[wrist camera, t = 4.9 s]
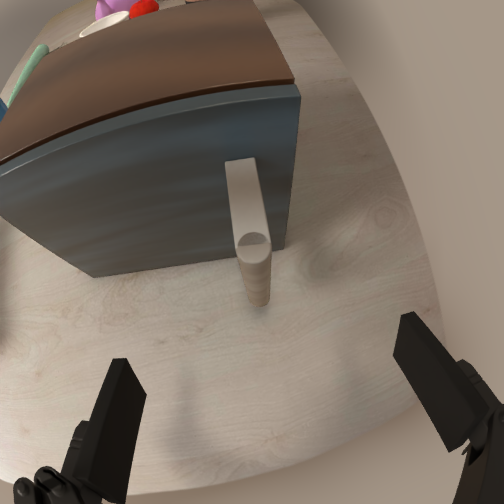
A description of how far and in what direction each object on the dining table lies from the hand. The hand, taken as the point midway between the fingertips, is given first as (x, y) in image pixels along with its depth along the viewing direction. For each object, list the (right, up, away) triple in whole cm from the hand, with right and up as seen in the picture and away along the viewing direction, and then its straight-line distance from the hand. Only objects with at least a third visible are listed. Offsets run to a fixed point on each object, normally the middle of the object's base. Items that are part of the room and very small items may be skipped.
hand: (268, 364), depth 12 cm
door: (-7, +2, +14) cm, 16 cm away
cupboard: (-9, +12, +18) cm, 23 cm away
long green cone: (-64, +54, +38) cm, 92 cm away
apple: (-28, +65, +40) cm, 81 cm away
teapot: (-40, +75, +45) cm, 96 cm away
